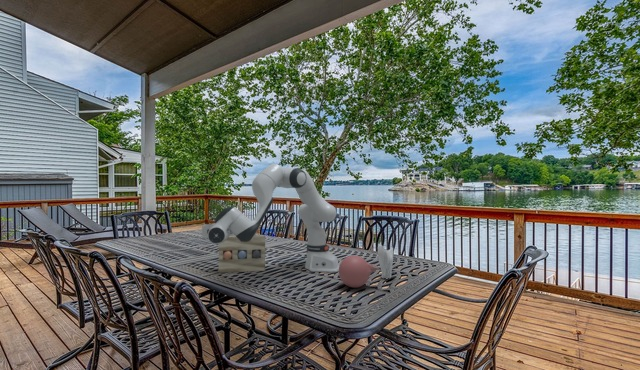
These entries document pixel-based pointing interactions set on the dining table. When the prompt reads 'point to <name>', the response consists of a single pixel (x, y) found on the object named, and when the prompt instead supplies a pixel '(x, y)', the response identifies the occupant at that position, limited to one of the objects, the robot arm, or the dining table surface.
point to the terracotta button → (227, 255)
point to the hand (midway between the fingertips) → (225, 228)
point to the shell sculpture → (385, 261)
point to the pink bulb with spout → (355, 271)
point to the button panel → (248, 262)
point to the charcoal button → (256, 254)
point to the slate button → (242, 254)
